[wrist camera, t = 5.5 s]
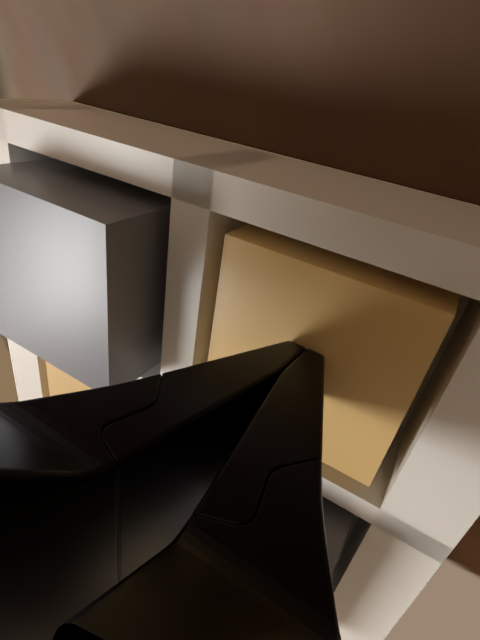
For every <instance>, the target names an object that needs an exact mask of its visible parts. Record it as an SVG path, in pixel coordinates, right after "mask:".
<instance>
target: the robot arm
mask: <svg viewBox="0 0 480 640" xmlns="http://www.w3.org/2000/svg"><path fill="white" fill-rule="evenodd" d="M324 366H325V358H324V356H323V355H322V354H320V353H317V352H315V351H313V350H310V349H305V347H303V346H301V345H299V344H297V343H294V342H292V341H285V342H281V343H277V344H273V345H269V346H265V347H262V348H258V349H254V350H250V351H246V352H242V353H238V354H235V355H231V356H227V357H223V358H219V359H215V360H211V361H208V362H204V363H200V364H196V365H192V366H188V367H185V368H181V369H177V370H173V371H169V372H165V373H163V374H162V376H161V374H157V375H153V376H149V377H146V378H141V379H137V380H133V381H129V382H124V383H120V384H115V385H110V386H105V387H100V388H94V389H89V390H83V391H77V392H71V393H66V394H60V395H54V396H48V397H42V398H36V399H31V400H25V401H18V402H6V403H0V640H341V635H340V630H339V625H338V619H337V613H336V606H335V599H334V591H333V584H332V577H331V570H330V562H329V555H328V548H327V540H326V533H325V524H324V513H323V503H322V445H323V406H324Z"/></svg>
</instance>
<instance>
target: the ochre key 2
mask: <svg viewBox="0 0 480 640" xmlns="http://www.w3.org/2000/svg"><path fill="white" fill-rule="evenodd" d="M459 297H460V294H458V293H455V292H452V291H449V290H446V289H443V288H440V287H437V286H434V285H431V284H428V283H425V282H422V281H419V280H416V279H413V278H410V277H407V276H404V275H401V274H398V273H395V272H392V271H389V270H386V269H383V268H380V267H377V266H374V265H371V264H368V263H365V262H362V261H359V260H356V259H353V258H350V257H347V256H344V255H341V254H338V253H335V252H332V251H329V250H326V249H323V248H320V247H318V246H315V245H312V244H309V243H306V242H303V241H300V240H297V239H294V238H291V237H288V236H285V235H282V234H279V233H276V232H273V231H270V230H267V229H264V228H261V227H258V226H255V225H252V224H247V225H245V226H242V227H240V228H238V229H236V230H233V231H231V232H229V233H226V234H225V238H224V245H223V253H222V260H221V267H220V274H219V282H218V289H217V296H216V303H215V311H214V318H213V325H212V332H211V340H210V347H209V354H208V361H211V360H215V359H219V358H223V357H227V356H231V355H235V354H238V353H242V352H246V351H250V350H254V349H258V348H262V347H265V346H269V345H273V344H277V343H281V342H285V341H292V342H294V343H297V344H299V345H301V346H303V347H305V349H310V350H313V351H315V352H317V353H320V354H322V355H323V356H324V358H325V366H324V406H323V445H322V462H323V463H325V464H327V465H329V466H331V467H333V468H335V469H336V470H338V471H340V472H342V473H344V474H346V475H348V476H349V477H351V478H353V479H355V480H357V481H359V482H361V483H363V484H364V485H366V486H368V487H369V486H370V484H371V482H372V480H373V478H374V476H375V474H376V472H377V470H378V468H379V466H380V464H381V462H382V460H383V458H384V457H385V455H386V453H387V451H388V449H389V447H390V445H391V443H392V441H393V439H394V437H395V435H396V433H397V431H398V429H399V427H400V425H401V423H402V421H403V419H404V417H405V415H406V413H407V411H408V409H409V407H410V405H411V403H412V401H413V399H414V397H415V395H416V393H417V391H418V389H419V387H420V385H421V383H422V381H423V379H424V377H425V375H426V373H427V371H428V369H429V367H430V365H431V363H432V361H433V359H434V357H435V355H436V353H437V351H438V349H439V347H440V345H441V343H442V341H443V339H444V337H445V335H446V333H447V331H448V329H449V327H450V325H451V323H452V321H453V319H454V317H455V315H456V310H457V306H458V301H459ZM208 361H207V362H208Z"/></svg>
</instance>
